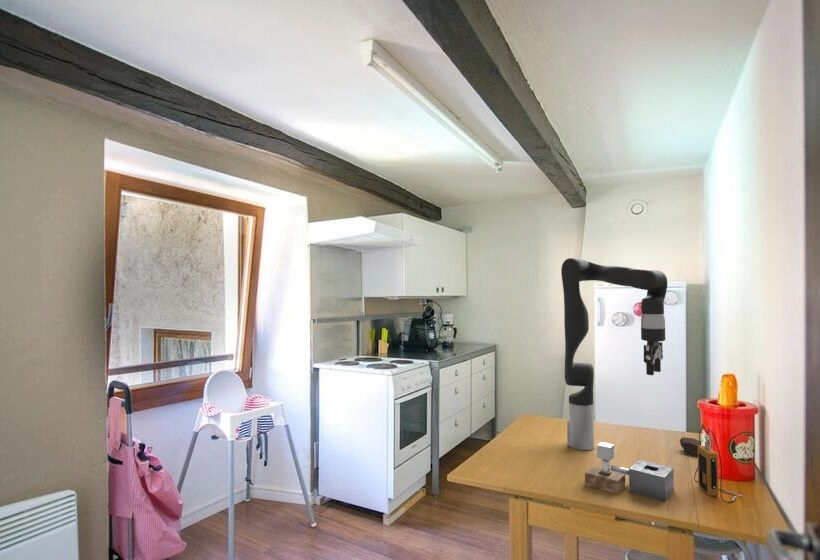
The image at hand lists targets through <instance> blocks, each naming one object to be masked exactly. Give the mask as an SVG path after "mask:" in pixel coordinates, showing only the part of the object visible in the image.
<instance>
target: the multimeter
mask: <svg viewBox="0 0 820 560" xmlns="http://www.w3.org/2000/svg"><path fill="white" fill-rule="evenodd" d="M702 429H703V430H704V432H705V442H704V443H705V446H701V443H700V445H698V446H697V449H698V456H697V468H696V470H695V473H694V477H693V480H694V481H695V482H696V483H698V485H697V486H698V488H700V489H701V490H702V491H704V492H705V493H706V495H707V496H710V497H712V496H713V497H719V495H720V498H721V501H723V503H727V502H728V503H729V504H730V503H733V502H734V501H735V500H736V499H737V496H740V497H743V495H742V494H738V493H736V492H734V491H733V492H732V491H729V490H724V489H722V482H723V466H722V459H721V458H722V457H721V454H720V450H719V445H718V441H717V439H716V437H715V434H714V432H713V430H711V429H707V430H706V428H705V427H704V425H703V424H701V427H700V430H699V434H698V440H699V442H700V441H701V431H702ZM709 432H711V434H712V436H713V438H714V441H715V445H716V448H717V451H718V453H717V452H716V451H715V450H713V449H712V448H710V444H709ZM718 456H719V457H718ZM719 463H720V485H719ZM696 475H697V480H696ZM719 486H720V488H719ZM719 491H720V492H719ZM722 492H725V493H727V492H728V494H731V493H732V494H731V495H734V494H735V496H733V498H732V499H731V501H726V500H725V499H723V493H722ZM719 493H720V494H719ZM728 503H727V504H728Z"/></svg>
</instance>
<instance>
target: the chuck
mask: <svg viewBox="0 0 820 560" xmlns="http://www.w3.org/2000/svg"><path fill="white" fill-rule="evenodd" d="M674 468H675V467H672V466H668V465H663V464H659V463H655V462H650V461H645V460H643V459H642V460H641V459H638V460H637V461H635V462H634V463H633V465H631V466H630V467H629V468H625V467H621V466H617V465H613V464H610V471H614V472H618V473H622V474H625V476H628V481H629V482H628V485H629V486H628V487H629V488H628V489H629V491H628V492H630V493H634V494H638V495H641V496H645V497H647V498H652V499H655V500H657V501H658V500H659V501H663V502H667V500H668V499H669V497H670V496H671V495H672V494H673V492H674V491H675V478H674V476H675V475H674V471H675V469H674Z"/></svg>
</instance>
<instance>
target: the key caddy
mask: <svg viewBox="0 0 820 560" xmlns="http://www.w3.org/2000/svg"><path fill="white" fill-rule="evenodd" d="M584 486H587V487H591V488H594V489H596V490H597V489H598V490H601V491H604V492H608V493H612V494H615V495H619V494H620V493H621V492H622V491H623V490H624V489H625V488H626V474H622V473H618V472H614V471H611V470H610V476H605V475H602V467H598V466H594V465H592V466H591V467H589V469H588V470H586V471H585V472H584Z"/></svg>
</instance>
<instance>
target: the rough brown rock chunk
mask: <svg viewBox="0 0 820 560" xmlns="http://www.w3.org/2000/svg"><path fill="white" fill-rule="evenodd" d="M701 441H702V440H700V442H699V439H696V438H693V437H685V436H684V437H681V438H680V439H679V443H680V446H681V448H682V449H683V452H684V453H686V454H688V455H691V456H694V457H698V449H697V446H698V445H700V443H701Z"/></svg>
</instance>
